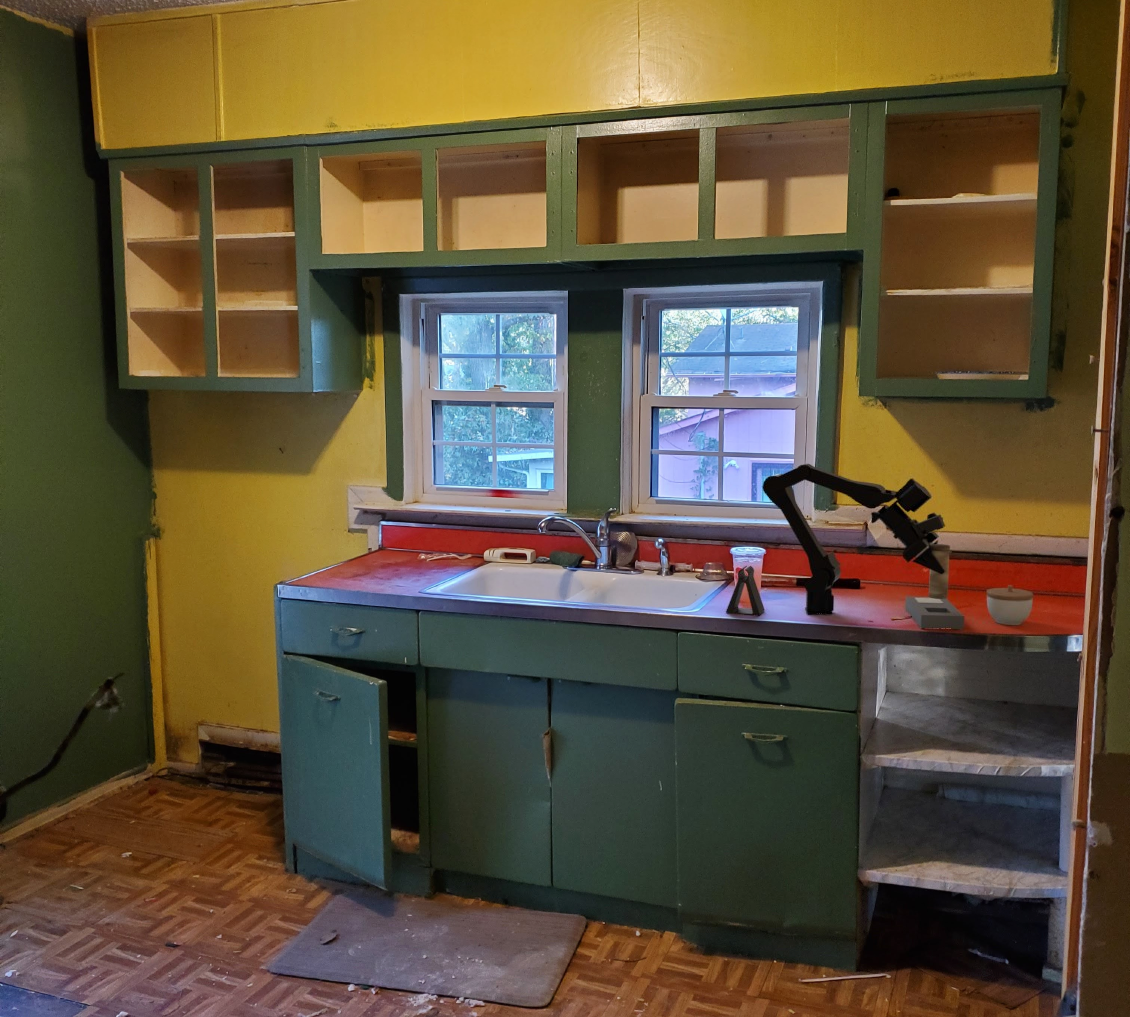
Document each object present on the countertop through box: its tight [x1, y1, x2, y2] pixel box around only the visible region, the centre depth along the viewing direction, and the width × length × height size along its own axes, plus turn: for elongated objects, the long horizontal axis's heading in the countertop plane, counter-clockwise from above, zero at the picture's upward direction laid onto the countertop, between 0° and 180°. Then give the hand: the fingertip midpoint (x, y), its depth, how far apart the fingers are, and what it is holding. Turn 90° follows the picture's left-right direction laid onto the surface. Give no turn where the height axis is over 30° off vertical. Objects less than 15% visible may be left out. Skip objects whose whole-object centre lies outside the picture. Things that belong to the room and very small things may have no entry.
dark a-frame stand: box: [725, 565, 766, 617], centre depth 275 cm, size 9×6×12 cm, turn 67°
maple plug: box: [928, 543, 951, 600], centre depth 260 cm, size 5×5×13 cm
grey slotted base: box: [904, 596, 965, 630], centre depth 266 cm, size 10×22×4 cm, turn 172°
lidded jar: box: [986, 584, 1034, 626], centre depth 262 cm, size 11×11×9 cm
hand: (945, 571), depth 259 cm, fingers closed on maple plug, 4 cm apart
